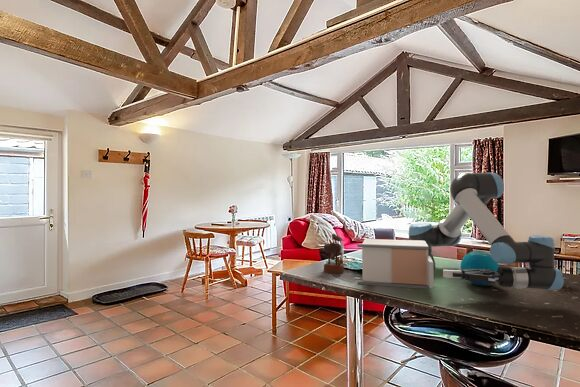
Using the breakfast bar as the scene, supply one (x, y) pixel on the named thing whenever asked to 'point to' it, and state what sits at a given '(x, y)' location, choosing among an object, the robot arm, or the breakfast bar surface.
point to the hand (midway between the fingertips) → (443, 273)
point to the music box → (333, 248)
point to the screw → (342, 252)
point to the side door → (412, 267)
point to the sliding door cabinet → (385, 261)
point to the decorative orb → (479, 263)
